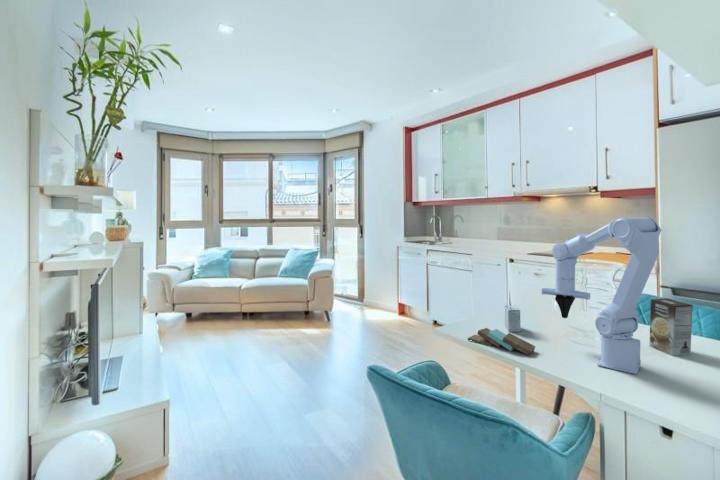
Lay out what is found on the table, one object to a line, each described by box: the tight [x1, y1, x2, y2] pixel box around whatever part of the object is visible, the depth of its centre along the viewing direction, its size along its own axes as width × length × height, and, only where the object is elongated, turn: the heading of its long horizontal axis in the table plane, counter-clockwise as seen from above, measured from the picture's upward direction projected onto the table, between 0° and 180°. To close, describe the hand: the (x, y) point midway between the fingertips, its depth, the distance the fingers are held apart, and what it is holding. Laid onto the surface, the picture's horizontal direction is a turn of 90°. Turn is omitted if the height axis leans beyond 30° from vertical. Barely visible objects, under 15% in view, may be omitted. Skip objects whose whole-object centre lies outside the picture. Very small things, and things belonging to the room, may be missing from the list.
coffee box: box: [649, 297, 694, 357], centre depth 119 cm, size 9×6×16 cm
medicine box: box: [504, 304, 522, 333], centre depth 145 cm, size 8×4×9 cm, turn 168°
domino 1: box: [477, 327, 503, 348], centre depth 130 cm, size 2×5×9 cm
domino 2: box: [488, 328, 515, 352], centre depth 127 cm, size 2×5×9 cm
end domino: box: [467, 334, 495, 347], centre depth 132 cm, size 2×5×9 cm
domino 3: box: [502, 332, 536, 356], centre depth 123 cm, size 2×5×9 cm
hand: (564, 317), depth 127 cm, fingers closed
